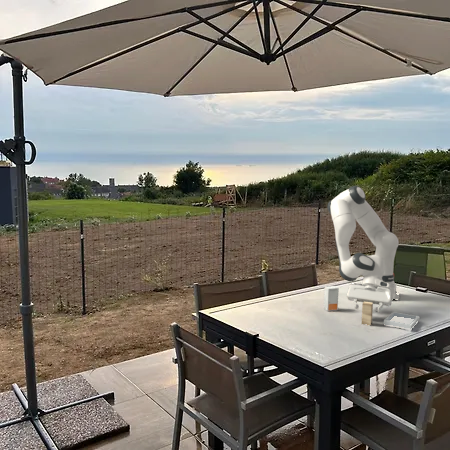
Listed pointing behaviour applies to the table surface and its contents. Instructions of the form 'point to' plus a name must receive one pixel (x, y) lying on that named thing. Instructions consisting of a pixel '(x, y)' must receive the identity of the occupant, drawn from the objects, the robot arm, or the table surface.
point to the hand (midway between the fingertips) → (366, 310)
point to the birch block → (367, 312)
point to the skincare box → (331, 298)
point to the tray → (388, 322)
